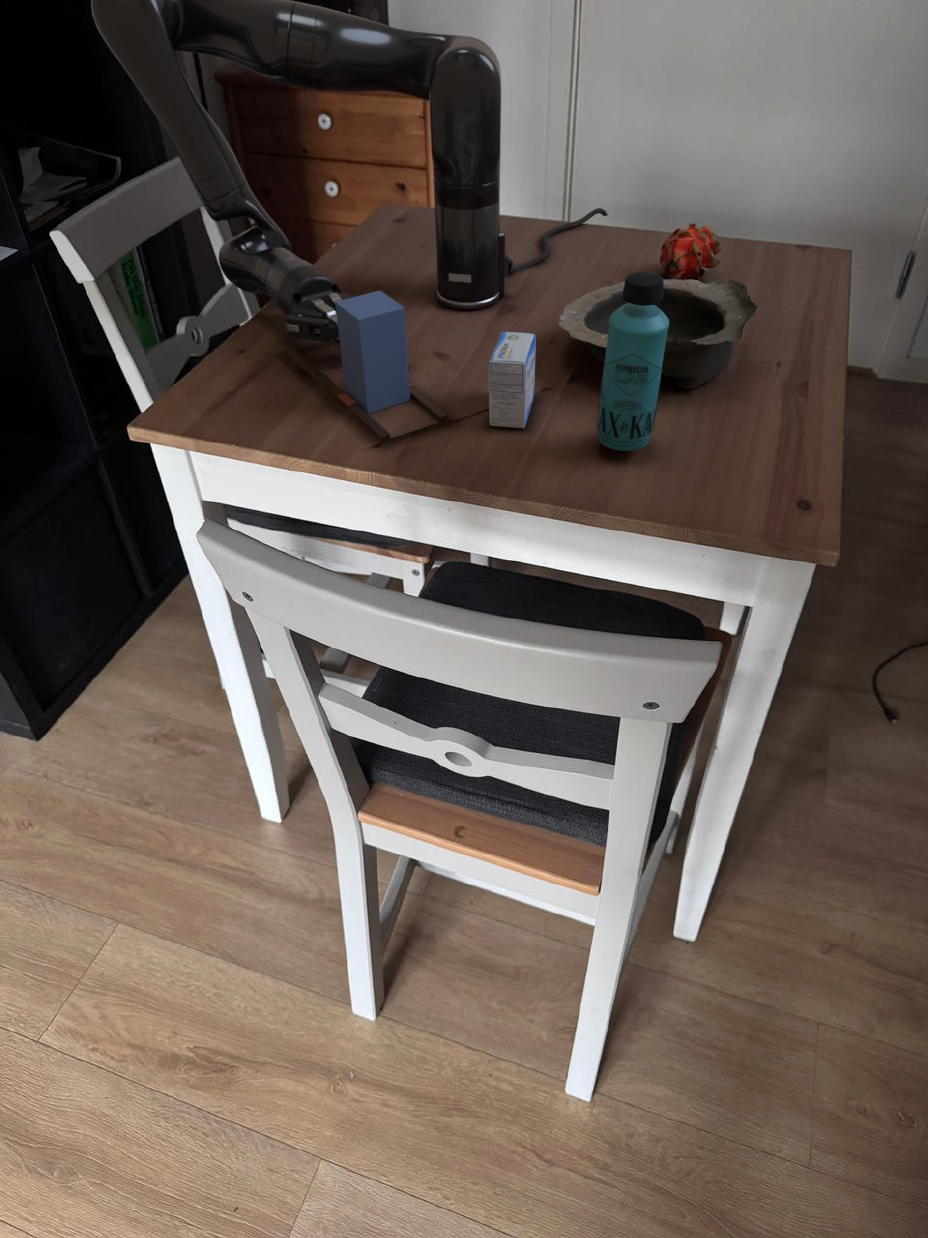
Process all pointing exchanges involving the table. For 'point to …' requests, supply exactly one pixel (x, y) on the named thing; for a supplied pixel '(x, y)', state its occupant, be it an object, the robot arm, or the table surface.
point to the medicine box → (512, 379)
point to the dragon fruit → (690, 253)
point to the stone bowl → (673, 325)
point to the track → (358, 411)
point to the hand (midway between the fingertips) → (361, 340)
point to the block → (374, 350)
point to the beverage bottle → (633, 365)
